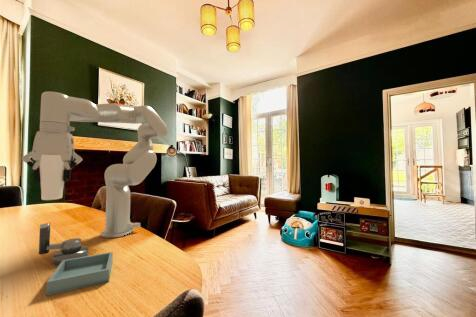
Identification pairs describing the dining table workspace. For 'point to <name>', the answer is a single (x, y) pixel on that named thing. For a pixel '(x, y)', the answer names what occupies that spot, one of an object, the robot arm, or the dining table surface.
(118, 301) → the dining table surface
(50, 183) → the drinking glass
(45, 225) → the crank
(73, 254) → the crank stand
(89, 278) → the tray
